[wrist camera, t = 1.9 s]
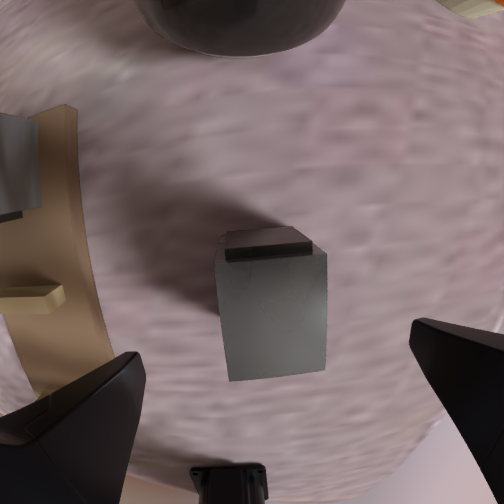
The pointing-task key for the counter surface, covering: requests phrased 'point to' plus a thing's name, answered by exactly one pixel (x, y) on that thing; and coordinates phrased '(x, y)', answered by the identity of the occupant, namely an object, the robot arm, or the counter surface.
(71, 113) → the rail
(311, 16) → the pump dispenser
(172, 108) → the counter surface
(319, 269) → the block
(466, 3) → the reusable coffee cup
